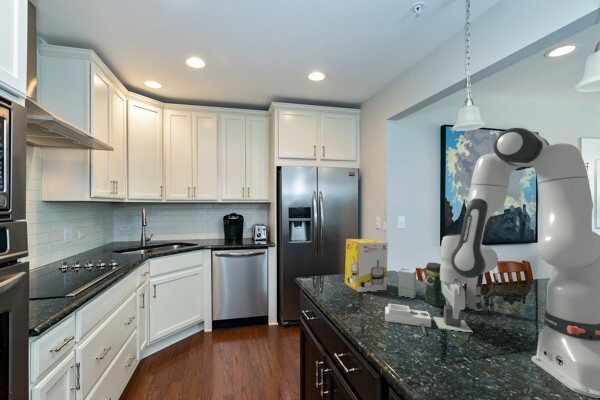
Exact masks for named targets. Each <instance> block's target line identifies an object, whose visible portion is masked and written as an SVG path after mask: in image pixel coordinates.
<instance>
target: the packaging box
mask: <svg viewBox="0 0 600 400" xmlns="http://www.w3.org/2000/svg"><path fill="white" fill-rule="evenodd" d="M388 247H389V246H388V242H384V241H380V240H377V239H372V238H365V239H364V238H355V239H354V238H346V239H345V262H344V263H345V264H344V266H345V267H344V284H345V285H346V286H348V287H349V288H351V289H353V290H354V291H356V292H357V293H368V292H367V291H371V292H378V291H377V290H386V291H387V280H388V279H387V277H388V276H387V275H388Z"/></svg>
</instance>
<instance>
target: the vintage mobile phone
mask: <svg viewBox="0 0 600 400" xmlns="http://www.w3.org/2000/svg"><path fill="white" fill-rule="evenodd" d="M483 280H484V273H483V274H480V275H478V276H477V277H474V278H466V304H465V307H466V306H467V307H469V308H471V309H474V310H476V311H479V312H482V311H483V310H484V309H483V308H484V307H483V306H482V285H483ZM471 309H470V310H471ZM481 310H482V311H481ZM476 311H475V312H476Z"/></svg>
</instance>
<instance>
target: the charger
mask: <svg viewBox="0 0 600 400" xmlns="http://www.w3.org/2000/svg"><path fill="white" fill-rule="evenodd" d="M452 312H453V307H452V306H446V305H444V307H443V318H444V323H445V324H446V325H449V326H457V327H461V320H462V310H460V312H459V318H458V319H454V318H453V317H452Z"/></svg>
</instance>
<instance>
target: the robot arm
mask: <svg viewBox="0 0 600 400" xmlns="http://www.w3.org/2000/svg"><path fill="white" fill-rule="evenodd" d="M492 147H493V151H494V153H493V152H492V153H487V154H483V155H481V156H479V157H478V159H477V160H476V163H475V166H474V169H473V172H472V177H471V182H470V189H469V196H468V201H467V205H466V210H465V214H464V217H463V222H462V227H461V231H460V233H456V234H446V235H444V236H443V237H442V240H441V245H440V259H441V263H440V264H441V266H440V280H441V287H442V293H443V295H444V296H445V297H446V306H452V307H453V312H452V317H453V318H454V319H458V318H459V312H460V310H461V311H463V310H465V308H466V292H465V288H464V287H463V285H465V284H466V285H467V278H474V277H477V276H478V275H480V274H483V275H484V274H486V273H488V272H491V271H492V270H494V269H495V268H496V267H497V265H498V264H499V263H498V262H499V260H498V255H497V253H496V252H495V251H494V249H492V248H491V247H489V246H486V245H484V244H482V243H483V238H484V235H485V228H486V225H487V222H488V221H489V219H490V218H491V217H492V215H494V214H495V213H496V212H497V211H499V210H501V209H502V208H503V207H504V205H505V202H506V200H507V197H508V193H509V192H508V191H509V186H510V177H511V175H512V173H513V172H514V171H522V170H525V169H532V168H533V170H534V171H535V175H536V179H537V188H538V193H539V194H538V195H539V200H540V207H541V219H540V221H541V222H540V238H539V241H538V244H537V252H538V254H539V256H540V258H541V259H542V260H543V261H544V262H546V263H547V264H548V265H550V266H552V270H551V274H550V278H549V280H548V282H547V283H546V284H547V285H546V287H547V288H546V310H545V311H544V316H543V319H544V324H545V326H544V328H543V329H542V330H540V332H539V333H538V340H537V348H536V349H537V350H536V355H532V356H531V361H532V362H533V363H534V364H535V365H537V366H538V367H540V368H541V369H542V370H544V371H545V372H546V373H548V374H549V375H550V376H552V377H553V378H555V379H556V380H557V381H558V382H560V383H561V384H563V385H564V386H566V387H567V388H568V389H569V390H571V391H573V392H575V393H578V394H580V395H583V396H586V397H589V398H595V399H597V398H600V234H598V232H596V231H593V210H594V202H593V196H592V190H591V186H590V185H591V184H590V180H589V175H588V170H587V167H586V163H585V162H584V161H585V160H584V158H583V156H582V154H581V152H580V150H579V148H578V147H577V146H575V145H574V144H571V143H555V144H554V143H553V144H550V143H549V142H548V141H547V139H545V138H544V137H542V136H540V135H539V134H538V133H537V132H534V131H532V130H529V129H526V128H523V127H512V128H507V129H506V130H503V131H502V132H500V133H499V134H498V135H497V136H496V138H495V139H494V141H493V146H492Z"/></svg>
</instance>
